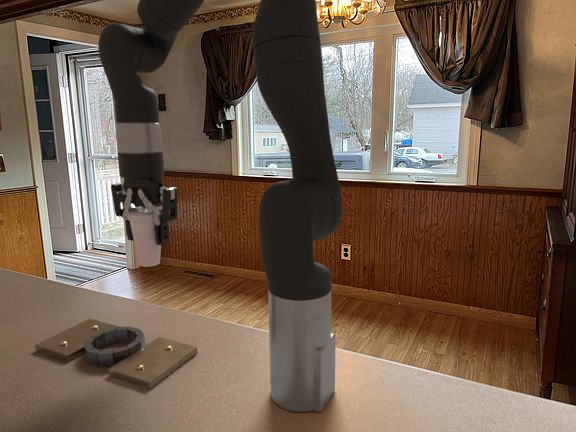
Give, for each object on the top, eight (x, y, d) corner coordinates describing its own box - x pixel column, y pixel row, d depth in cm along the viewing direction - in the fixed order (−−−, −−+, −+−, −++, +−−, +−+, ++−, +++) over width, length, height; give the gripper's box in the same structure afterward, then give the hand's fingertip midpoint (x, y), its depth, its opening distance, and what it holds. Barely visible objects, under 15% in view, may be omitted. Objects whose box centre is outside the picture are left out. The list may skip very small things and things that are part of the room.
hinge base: (197, 352, 78) (196, 340, 77) (150, 389, 67) (148, 374, 66) (90, 323, 90) (89, 312, 89) (35, 350, 79) (34, 338, 78)
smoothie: (123, 265, 77) (116, 189, 74) (150, 256, 83) (145, 184, 80) (148, 271, 74) (142, 192, 71) (174, 261, 80) (170, 187, 77)
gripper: (186, 149, 74) (191, 241, 78) (127, 147, 80) (134, 232, 84) (155, 152, 67) (162, 252, 71) (93, 149, 74) (103, 242, 77)
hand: (147, 241), depth 77 cm, fingers closed on smoothie, 6 cm apart
